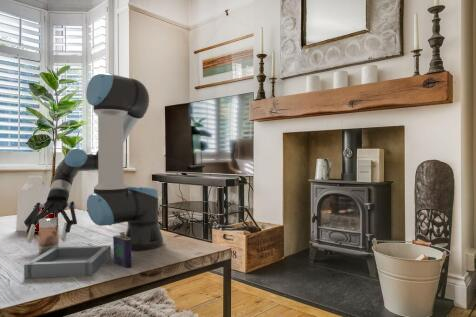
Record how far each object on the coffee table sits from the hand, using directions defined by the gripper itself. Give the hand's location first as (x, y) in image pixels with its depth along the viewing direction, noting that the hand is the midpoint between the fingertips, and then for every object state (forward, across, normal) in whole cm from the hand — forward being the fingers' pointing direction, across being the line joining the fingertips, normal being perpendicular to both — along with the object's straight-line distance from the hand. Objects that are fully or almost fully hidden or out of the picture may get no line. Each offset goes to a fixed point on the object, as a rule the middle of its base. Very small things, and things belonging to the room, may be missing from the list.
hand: (45, 240), depth 123 cm
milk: (-31, +21, -38) cm, 54 cm away
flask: (+18, -30, +11) cm, 36 cm away
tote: (+17, -14, +10) cm, 24 cm away
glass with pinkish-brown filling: (+1, 0, -5) cm, 5 cm away
